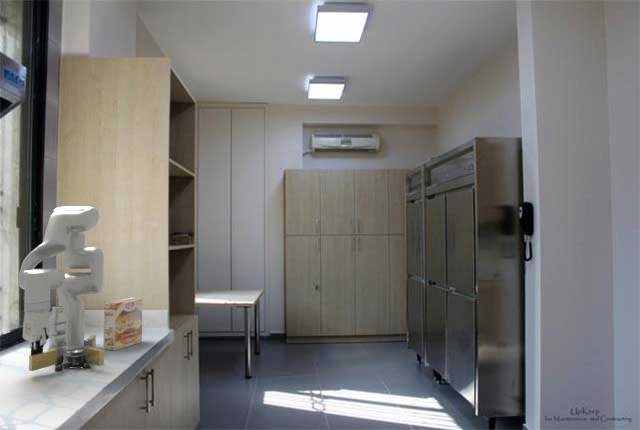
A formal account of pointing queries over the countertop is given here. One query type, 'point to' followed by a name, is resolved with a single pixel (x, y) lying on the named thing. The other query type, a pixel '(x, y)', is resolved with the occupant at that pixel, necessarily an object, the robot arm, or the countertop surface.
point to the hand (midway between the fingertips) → (36, 360)
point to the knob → (90, 341)
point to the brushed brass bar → (46, 359)
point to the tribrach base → (67, 365)
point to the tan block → (92, 356)
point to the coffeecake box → (122, 323)
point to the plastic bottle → (58, 329)
